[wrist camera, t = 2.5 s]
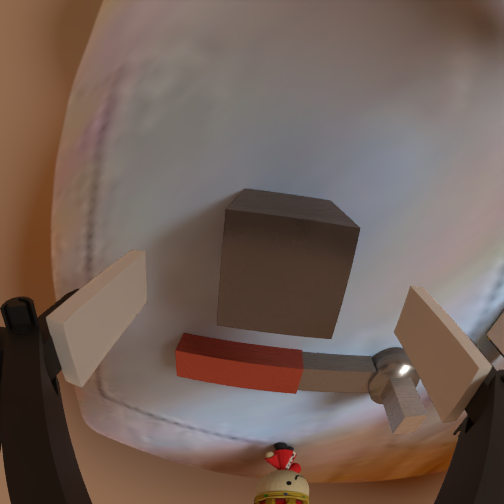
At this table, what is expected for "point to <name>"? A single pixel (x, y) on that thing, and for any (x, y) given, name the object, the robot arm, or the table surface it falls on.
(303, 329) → the dark wooden cube
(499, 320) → the medicine bottle
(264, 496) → the toy
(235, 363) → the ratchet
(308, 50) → the table surface
